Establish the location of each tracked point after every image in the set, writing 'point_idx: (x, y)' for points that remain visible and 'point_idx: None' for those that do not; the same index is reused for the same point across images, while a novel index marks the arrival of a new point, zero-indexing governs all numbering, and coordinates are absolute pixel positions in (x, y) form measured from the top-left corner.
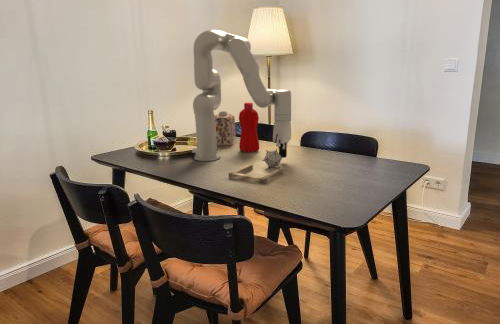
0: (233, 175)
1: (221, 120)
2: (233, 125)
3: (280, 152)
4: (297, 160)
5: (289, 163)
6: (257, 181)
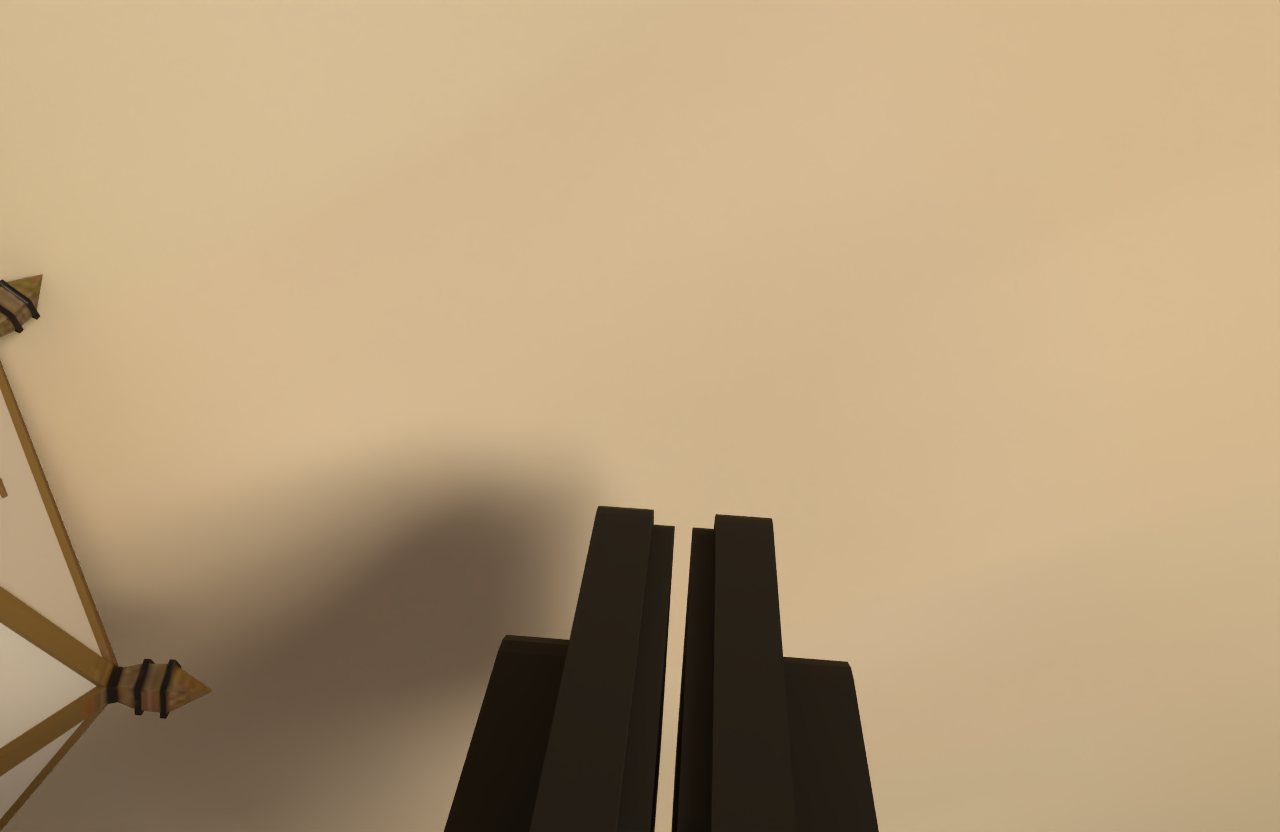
0: None
1: None
2: None
3: (468, 782)
4: (1103, 811)
5: None
6: None
